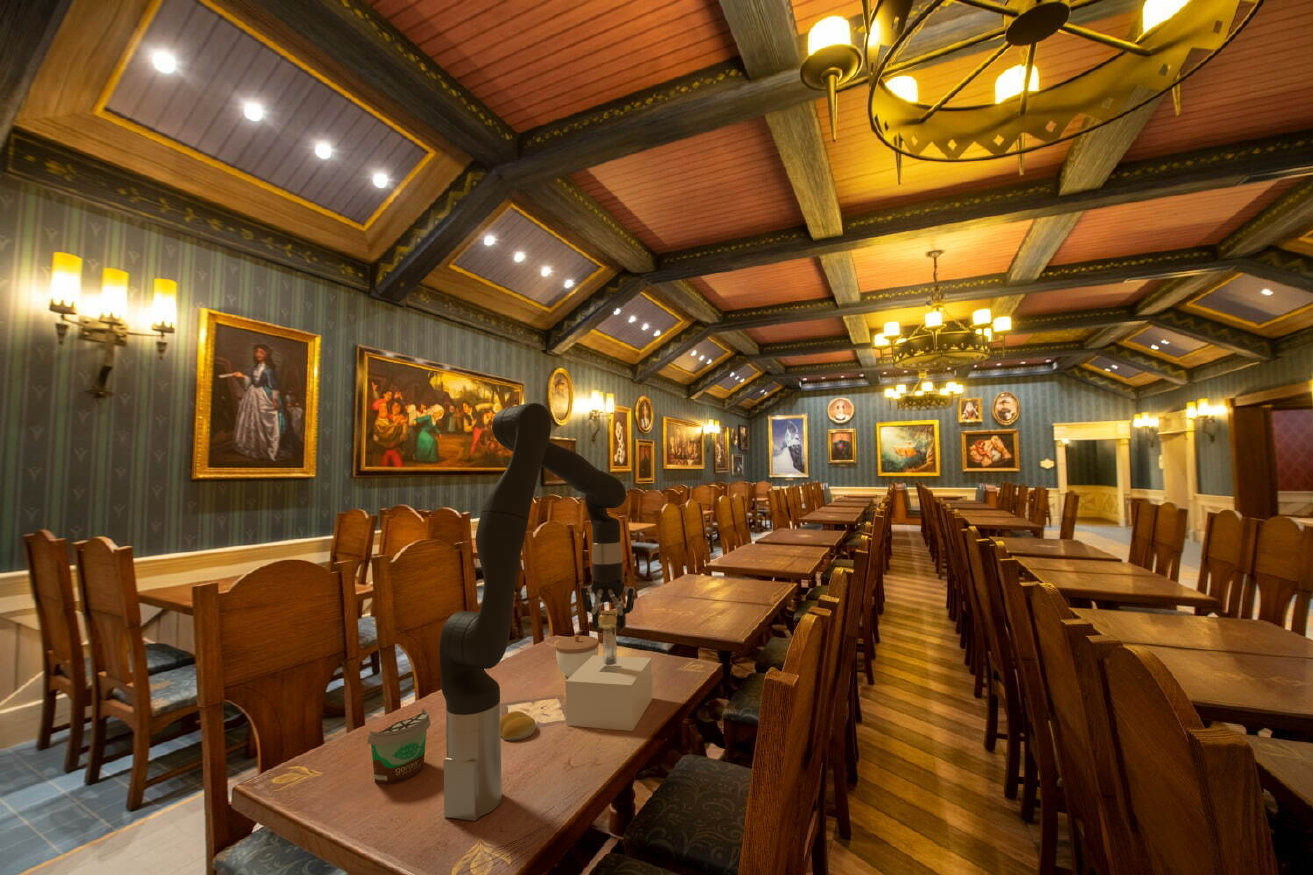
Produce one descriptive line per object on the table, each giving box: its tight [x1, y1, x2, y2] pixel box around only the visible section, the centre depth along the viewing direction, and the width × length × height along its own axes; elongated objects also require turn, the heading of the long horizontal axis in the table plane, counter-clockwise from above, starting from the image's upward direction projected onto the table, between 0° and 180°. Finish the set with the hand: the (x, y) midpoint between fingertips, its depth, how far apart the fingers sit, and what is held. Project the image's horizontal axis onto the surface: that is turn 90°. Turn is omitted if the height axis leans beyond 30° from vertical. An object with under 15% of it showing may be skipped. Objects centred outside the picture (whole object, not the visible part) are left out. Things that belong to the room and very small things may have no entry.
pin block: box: [565, 654, 654, 732], centre depth 132 cm, size 18×16×10 cm
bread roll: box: [500, 710, 537, 741], centre depth 123 cm, size 8×9×4 cm
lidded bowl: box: [554, 634, 600, 679], centre depth 158 cm, size 13×13×11 cm
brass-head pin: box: [597, 609, 619, 665], centre depth 133 cm, size 6×6×12 cm
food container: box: [367, 708, 432, 785], centre depth 107 cm, size 12×6×10 cm, turn 148°
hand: (609, 629), depth 133 cm, fingers closed on brass-head pin, 5 cm apart
